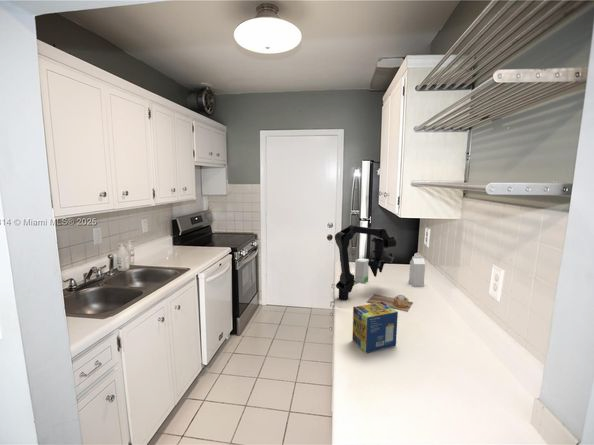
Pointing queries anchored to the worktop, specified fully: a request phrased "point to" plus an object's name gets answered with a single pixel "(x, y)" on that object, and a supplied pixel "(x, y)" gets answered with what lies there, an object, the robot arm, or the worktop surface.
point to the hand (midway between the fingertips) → (377, 274)
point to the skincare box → (361, 270)
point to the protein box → (374, 326)
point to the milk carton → (417, 271)
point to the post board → (389, 301)
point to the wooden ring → (401, 302)
